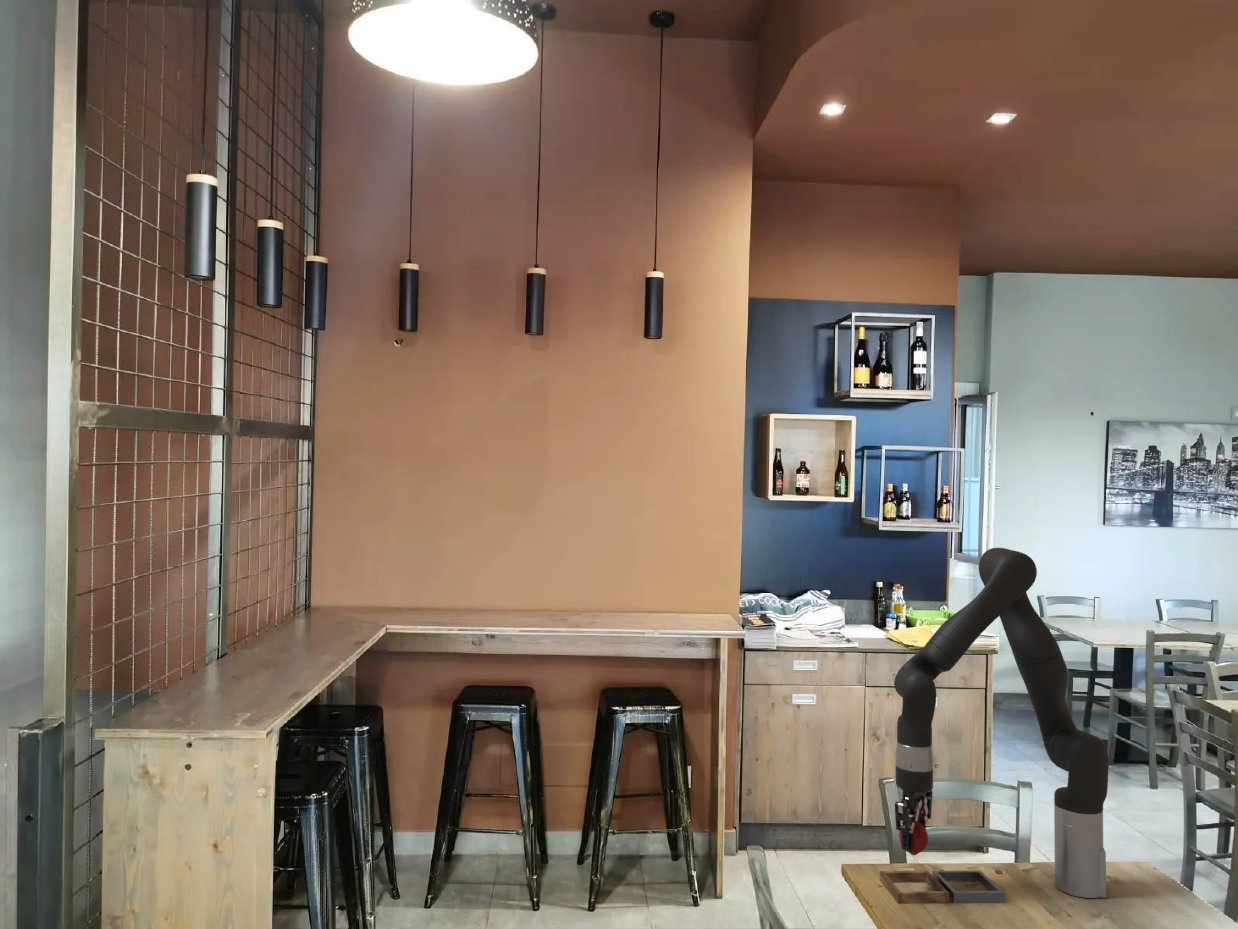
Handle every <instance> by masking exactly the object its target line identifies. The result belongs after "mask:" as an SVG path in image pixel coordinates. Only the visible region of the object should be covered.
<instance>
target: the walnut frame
mask: <svg viewBox="0 0 1238 929" xmlns="http://www.w3.org/2000/svg"><path fill="white" fill-rule="evenodd" d="M879 882H880V883H881V884H882V885H883V887H884V888H885V889H886V890H887V892H888V893H889V894H890V895H891V896H892V898H893V899H894V900H895V902H897V904H950V898H949V892H948V891H947V890H946V889H945V888H944V887H943V886H942V885H941V884H940V883H939V882H938V881H937V880H936V879H935V878H934V877H933V873H932V872H930V871H929V870H887V871H886V870H885V871H884V870H880V871H879ZM895 883H926V884H927V883H928V884H927V885H928V886H929V887H930V886H931V887H930V888H931V889H932V891H931V890H930V891H925V890H924V891H923V890H922V891H921V890H919V891H914V890H913V891H912V890H911V891H909V890H908V891H901V890H900V889H899V888H898V886H897V885H896V884H895Z"/></svg>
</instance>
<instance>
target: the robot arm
mask: <svg viewBox="0 0 1238 929" xmlns="http://www.w3.org/2000/svg"><path fill="white" fill-rule="evenodd" d="M978 573H979V574H978V575H979V577H980V580H981V582H982V585H983V586H984V587H983V588H982V590H981V591H980V592H979V593H978V594H977V595H976V596H975V598H973V599H972V600H971V601H970V602H969V603H968V604H966V605H965V606H964V607H963V608H961V609H960V610H958V611H956V612H955V613H954V614H953V615H951V616H950V617H949V618H947V619H946V620H945V621H944V622H943V623H942V624H941V625H940V626H939V627H938V628H937V630H936V631H935V632H934V633H933V635H932V636H931V637H930V639H928V641H927V642H926V643H925V645H924V646H923V648H922V649H920V650H919V651H917V652H916V653H915V654H914V655H913V656H912V657H910V658H909V659H908V660H907V661H906V662H905V663H904V664H903V665H902V666H901V667H900V669H899V670H898V671H897V672H896V675H895V677H894V683H893V685H894V690H895V692H896V694H898V695H899V696H900V697H901V699H902V705H901V706H902V709H901V714H900V715H899V716H898V717H897V723H896V724H897V725H896V746H895V747H896V748H895V782H894V783H895V785H896V787H898V789H901V791H902V795H901V799H900V801H895V802H894V815H895V816H894V817H895V819H894V820H895V829H896V830H897V831H899V832H900V831H902V844H901V843H900V844H901V846H900V847H901V849H902V850H903V851H906V852H908V851H912V850H913V830H914V824H915V823H916V822H917V821H918V822H919V823H920V824H922V825H923V827H924V828H925V830H926V831H927V824H928V822H929V820H931V818H932V810H933V809H932V807H933V806H932V805H933V789H934V754H933V752H934V751H933V744H932V743H933V728H932V727H933V725H932V723H933V720H934V716H935V710H936V706H937V705H936V704H937V689H936V688H937V687H936V684H935V679H936V678H937V677H939V676H940V675H941V673H947V672H950V671H951V670H952V669H953V668H954V667H955V666H956V665H957V663H958V662H959V661H960V660H961V659H962V657H963V656H964V655H965V654H966V653H967V651H968V649H970V647H972V645H973V644H974V642H976V640H977V639H978V638H979V636H981V634H983V632H984V631H985V630H986V629H988V627H989V626H990V625H991V624H992V623H994V621H996V620H997V619H998V618H999V619H1000V622H1001V625H1002V627H1003V630H1004V633H1005V636H1006V638H1007V641H1008V644H1009V646H1010V648H1011V652H1012V655H1013V659H1014V661H1015V663H1016V666H1017V669H1018V671H1019V674H1020V676H1021V678H1022V680H1023V683H1024V685H1025V689H1026V691H1027V693H1028V697H1029V699H1030V702H1031V705H1032V707H1033V709H1034V712H1035V716H1036V719H1037V722H1038V726H1039V731H1040V734H1041V737H1042V741H1043V746H1044V748H1045V749H1044V750H1045V752H1046V754H1047V756H1048V758H1049V760H1050V761H1051V762H1052V764H1053V765H1055V766H1056V767H1058V768H1059V769H1061V770H1063V771H1066V772H1067V773H1068V774H1067V775H1068V777H1067V786H1061V787H1058V788H1056V789H1055V790H1054V794H1053V795H1054V797H1053V800H1054V802H1053V803H1054V805H1053V806H1054V808H1053V810H1054V817H1053V818H1054V825H1053V826H1054V829H1053V830H1054V835H1053V836H1054V837H1053V838H1054V875H1053V876H1054V885H1055V887H1056V888H1057V889H1058V890H1060V891H1062V892H1064V893H1066V894H1068V895H1071V896H1074V897H1078V898H1084V899H1096V898H1104V899H1106V898H1107V863H1106V862H1107V856H1106V855H1107V853H1106V852H1107V851H1106V850H1105V847H1104V803H1105V801H1106V798H1107V796H1108V785H1109V784H1108V783H1109V770H1110V769H1109V764H1110V763H1109V761H1110V759H1109V752H1108V749H1107V746H1106V744H1105V742H1104V741H1103V740H1102V739H1101V738H1099V737H1098V736H1097V735H1093V734H1091V733H1089V732H1086V731H1082V730H1080V729H1078V727H1077V726H1076V725H1075V723H1074V720H1073V719H1072V716H1071V713H1070V712H1069V708H1068V706H1067V701H1066V694H1067V690H1068V689H1067V688H1068V681H1069V680H1068V679H1069V672H1068V668H1067V664H1066V662H1065V659H1064V656H1063V654H1062V651H1061V648H1060V646H1059V644H1058V641H1057V640H1056V638H1055V637H1054V635H1053V633H1052V632H1051V631H1050V628H1049V627H1048V626H1047V625H1046V623H1045V622H1044V620H1043V619H1042V618H1041V617H1040V616H1039V614H1038V612H1037V611H1036V610H1035V608H1034V606H1033V605H1032V603H1031V601H1030V598H1029V596H1028V593H1027V592H1028V591H1029V589H1030V588H1031V587H1032V586H1034V585H1033V584H1035V581H1036V579H1037V575H1038V574H1037V573H1038V570H1037V566H1036V563H1035V561H1034V560H1033V559H1032V557H1030V556H1029V555H1027V554H1026V553H1023V552H1021V551H1017V550H1013V549H1009V548H1005V547H992V548H989V549H987V550H986V551H985V552H984V553H983V554H982V555H981V557H980V560H979V562H978ZM912 816H913V817H912ZM909 821H910V825H909Z"/></svg>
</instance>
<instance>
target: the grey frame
mask: <svg viewBox="0 0 1238 929" xmlns="http://www.w3.org/2000/svg"><path fill="white" fill-rule="evenodd" d="M932 876H933V877H934V878H935V879H936V880H937V881H938V882H939V883H940V884H941V885H942V886H943V887H944V888H945V889H946V890H947V891H948V892H949V900H951V901H952V903H953V904H962V903H963V904H970V903H971V904H972V903H975V904H976V903H980V904H981V903H982V904H984V903H985V904H987V903H992V904H993V903H1001V904H1002V903H1005V902H1006V901H1005V895H1006V894H1005V892H1004V891H1003V889H1001V887H999V886H998V885H997V884H996V883H994V882H993V880H992V879H991V878H989V877H988V876H987V875H986V874H985V873H984V872H983V871H981V870H932ZM947 881H959V882H960V881H962V883H964V882H972V883H973V882H976V883H980V885H981V886H982V887H984V888H985V889H986V890H956V889H955V888H954V887H953V886H952V885H951V884H950V882H947ZM959 882H958V883H959ZM960 883H961V882H960Z"/></svg>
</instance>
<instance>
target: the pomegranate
mask: <svg viewBox="0 0 1238 929" xmlns="http://www.w3.org/2000/svg"><path fill="white" fill-rule="evenodd" d="M911 817H913V816H912V815H911ZM909 825H910V821H909ZM898 832H899V833H898V838H899V842H900V844H902V831H900V830H899V831H898ZM928 844H929V835H928V832H927V829H926V830H925V828H924V827H923V825H922V824H920V823H919V822H918V821H917V822H916V823H915V824H914V830H913V850H912V851H907V853H909V854H910V855H912V856H916V855H918V854H920V853H921V852H923V851H924V850H925V849H926V847H927V846H928Z"/></svg>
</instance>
